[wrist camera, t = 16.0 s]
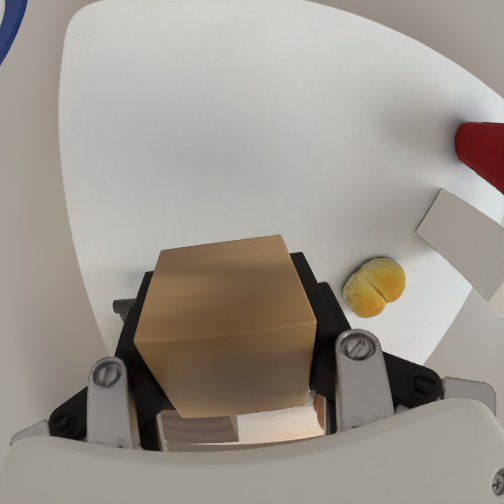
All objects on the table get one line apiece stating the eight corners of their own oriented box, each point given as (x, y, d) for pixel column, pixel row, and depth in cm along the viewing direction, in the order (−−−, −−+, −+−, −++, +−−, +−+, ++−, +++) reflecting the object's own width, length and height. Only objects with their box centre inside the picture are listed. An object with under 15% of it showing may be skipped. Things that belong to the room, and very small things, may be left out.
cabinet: (144, 359, 38) (136, 409, 30) (223, 355, 39) (226, 408, 31) (171, 402, 45) (169, 443, 38) (235, 399, 46) (239, 441, 38)
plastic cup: (474, 91, 21) (543, 107, 11) (492, 157, 26) (550, 187, 16) (430, 121, 24) (509, 146, 13) (452, 193, 28) (515, 234, 18)
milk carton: (414, 231, 31) (510, 329, 15) (441, 187, 28) (551, 266, 12) (438, 250, 33) (519, 336, 17) (463, 211, 30) (554, 286, 14)
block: (187, 332, 12) (181, 419, 8) (160, 249, 10) (131, 341, 6) (283, 320, 12) (306, 405, 8) (281, 233, 10) (317, 321, 6)
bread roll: (405, 278, 35) (419, 295, 31) (357, 314, 37) (367, 333, 34) (386, 241, 31) (402, 258, 28) (331, 284, 34) (342, 305, 30)
